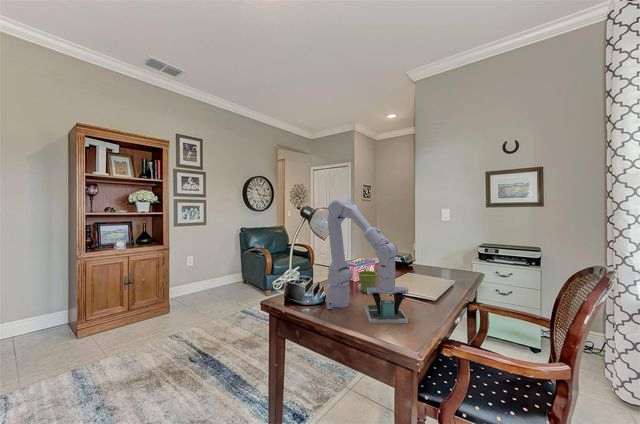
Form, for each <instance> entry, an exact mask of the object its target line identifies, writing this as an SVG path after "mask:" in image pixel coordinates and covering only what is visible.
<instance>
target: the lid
mask: <svg viewBox="0 0 640 424" xmlns="http://www.w3.org/2000/svg"><path fill="white" fill-rule="evenodd" d="M363 308H364V311H365V313H366V310H377V306H376V304H363ZM380 310H381V303H380Z"/></svg>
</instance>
